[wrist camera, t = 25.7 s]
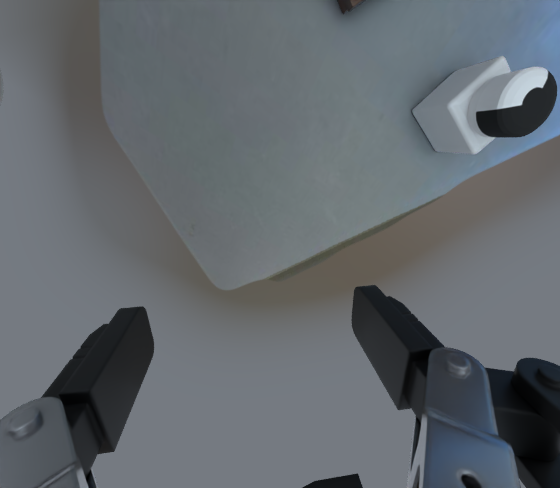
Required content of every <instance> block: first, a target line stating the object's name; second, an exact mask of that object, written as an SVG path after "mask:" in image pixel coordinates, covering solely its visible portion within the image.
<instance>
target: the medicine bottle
mask: <svg viewBox="0 0 560 488" xmlns="http://www.w3.org/2000/svg"><path fill="white" fill-rule="evenodd" d="M556 97H557V85H556V81H555V79H554V77H553V75H552V74H551V73H550V72H549V71H548V70H546V69H545V68H542V67H530V68H526V69H522V70H518V71H514V72H511V71H510V68H509V66H508V64H507V61H506V59H505V57H504V56H500V57H497V58H494V59H491V60H488V61H485V62H481V63H478V64H475V65H472V66H469V67H466V68H462V69H459V70H456V71H454V72H453V73H452V74H451V75H450V76H449V77H448V78H447V79H446V80H445V81H443V82H442V83H441V84H440V85H439V86H438V87H437V88H436V89H435V90H434V91H432V92H431V93H430V94H429V95H428V96H427V97H426V98H425V99H424V100H423V101H422V102H420V103H419V104H418V105H417V106H416V107H415V108H414V109H413V110H412V113H413V115H414V116H415V118H416V120H417V121H418V123H419V125H420V126H421V128H422V130H423V131H424V133H425V135H426V136H427V138H428V140H429V141H430V143H431V145H432V146H433V148H434V150H435V151H436V152H446V153H460V154H477V153H478V152H479V151H480V150H482V149H483V148H484V147H485V146H486V145H487V144H489V143H490V142H491V141H492V140H493V139H495V138H496V137H522V136H525V135H528V134H530V133H531V132H533V131H534V130H536V129H537V128H538V127H539V126H540V125H542V124H543V122H544V121H545V120H546V119H547V118H548V116H549V115H550V113H551V111H552V109H553V107H554V104H555V101H556Z"/></svg>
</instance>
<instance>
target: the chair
mask: <svg viewBox="0 0 560 488" xmlns="http://www.w3.org/2000/svg"><path fill="white" fill-rule="evenodd" d="M364 1H365V0H338V2H339V5H340V7H341V10H342V13H343V14H345V13H346V12H347V11H348V12H350V11H351V10H352V9H354V8H355V7H357V6H358V5H360V4H361V3H363V2H364Z"/></svg>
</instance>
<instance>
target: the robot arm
mask: <svg viewBox="0 0 560 488" xmlns="http://www.w3.org/2000/svg"><path fill="white" fill-rule="evenodd" d="M352 328H353V331H354V334H355V336H356V337H357V339H358V341H359V343H360V345H361V347H362V348H363V350H364V352H365V353H366V355H367V357H368V359H369V360H370V362H371V364H372V366H373V367H374V369H375V371H376V373H377V374H378V376H379V378H380V380H381V381H382V383H383V385H384V386H385V388H386V390H387V392H388V393H389V395H390V397H391V398H392V400H393V402H394V404H395V405H396V407H397V409H398V410H403V409H410V408H412V410H413V412H414V413H415V415H416V416H415V421H414V428H413V438H412V446H411V455H410V464H409V473H408V481H407V488H521V487H520V482H519V479H520V480H521V481H522V483H523V484H524V485H525V487H526V488H560V366H558V365H556V364H554V363H550V362H548V361H545V360H541V359H536V358H524V359H521V360H519V361H518V363H517V365H516V368H515V371H514V372H513V371H505V370H498V369H490V368H484V366H483V365H482V364H481V363H480V362H479V361H478V360H476V359H475V358H474V357H472V356H471V355H469V354H467V353H465V352H463V351H460V350H456V349H453V348H447V347H444V345H443V344H442V343H440V342H439V340H438V339H437V338H436V337H435V336H434V335H433V334H432V333H431V332H430V331H429V330H428V329H427V328H426V327H425V326H424V325H423V324H422V323H421V322H420V321H418V319H417V318H416V317H415V316H414V315H413V314H411V312H410V311H409V310H408V309H407V308H406V307H405V305H404V304H402V303H401V302H399V301H397V300H396V299H394V298H392V297H390V296H388V297H386V296H385V295H384V294H383V293H382V291H381V290H380V289H379V288H378V287H377V286H375V285H371V286H360V287H356V288H355V290H354V298H353V309H352ZM153 353H154V341H153V336H152V332H151V328H150V324H149V320H148V316H147V312H146V309H145V308H144V307H132V308H121V309H119V310H118V311H117V313H116V314H115V316H114V317H113V319H112V320H111V321H110V323H109V324H103V325H102V326H101V327H99V328H98V329H97V330H96V331H94V332H93V333H92V334H90V335H89V336H88V338H87V339H86V340H85V342H84V343H83V344H82V346H81V348H80V349H79V350H78V351H77V352H76V353H75V355H74V356H73V359H71V360H70V361H69V362H68V364H67V365H66V366H65V367H64V369H63V370H62V371H61V373H60V374H59V375H58V377H57V378H56V379H55V380H54V382H53V383H52V384H51V386H50V387H49V388H48V389H47V391H46V392H45V393H44V395H43V396H42V397H41V398H39V399H36V400H33V401H30V402H28V403H26V404H23V405H21V406H20V407H18V408H16V409H14V410H13V411H11V412H10V413H9V414H7V415H6V416H5V417H3V418H2V419H1V420H0V488H98V485H97V482H96V479H95V476H94V472H93V470H92V468H91V467H92V465H93V463H94V461H95V458H96V456H97V454H102V453H108V452H114V451H115V448H116V446H117V443H118V441H119V438H120V436H121V434H122V431H123V429H124V426H125V424H126V421H127V418H128V416H129V414H130V412H131V409H132V407H133V404H134V401H135V399H136V396H137V394H138V392H139V389H140V387H141V384H142V382H143V380H144V377H145V375H146V372H147V370H148V367H149V365H150V362H151V360H152V357H153ZM303 488H363V487H362V484H361V482H360V479H359V476H358V474H353V475H347V476H341V477H336V478H330V479H324V480H318V481H314V482H312V483H310V484H308V485H306V486H305V487H303Z"/></svg>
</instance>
